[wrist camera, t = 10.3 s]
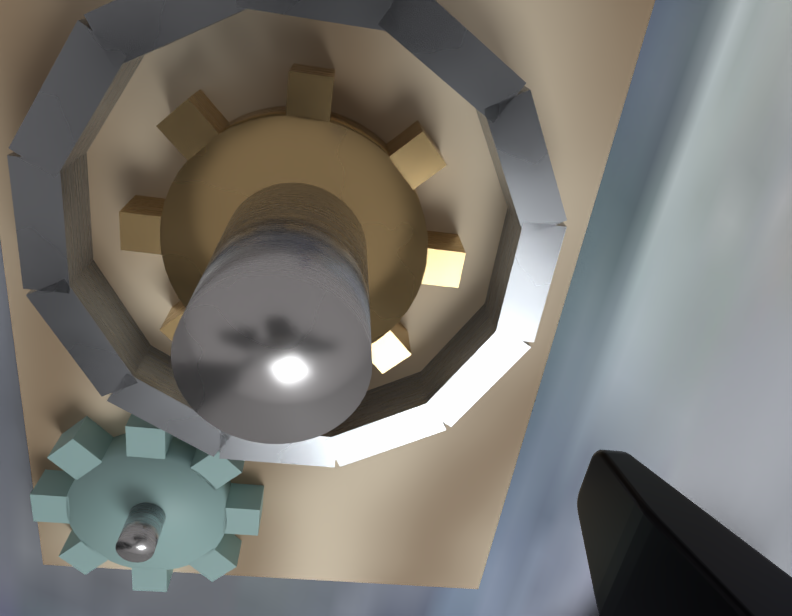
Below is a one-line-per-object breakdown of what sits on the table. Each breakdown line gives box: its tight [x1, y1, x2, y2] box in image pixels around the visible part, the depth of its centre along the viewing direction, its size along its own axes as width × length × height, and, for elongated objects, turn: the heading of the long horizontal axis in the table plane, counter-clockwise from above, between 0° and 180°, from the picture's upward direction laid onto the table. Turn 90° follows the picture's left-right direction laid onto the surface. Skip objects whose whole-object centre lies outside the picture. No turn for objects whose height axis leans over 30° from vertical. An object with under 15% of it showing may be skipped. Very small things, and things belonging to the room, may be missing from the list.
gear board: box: [0, 0, 655, 592], centre depth 16 cm, size 14×20×3 cm
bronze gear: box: [119, 63, 466, 444], centre depth 13 cm, size 8×8×6 cm
